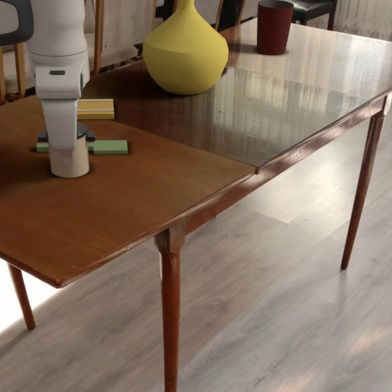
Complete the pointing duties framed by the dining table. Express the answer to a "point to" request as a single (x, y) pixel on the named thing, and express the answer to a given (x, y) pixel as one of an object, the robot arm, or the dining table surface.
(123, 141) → the spatula
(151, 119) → the dining table surface
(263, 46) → the mug
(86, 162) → the pot
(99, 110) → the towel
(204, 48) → the vase
